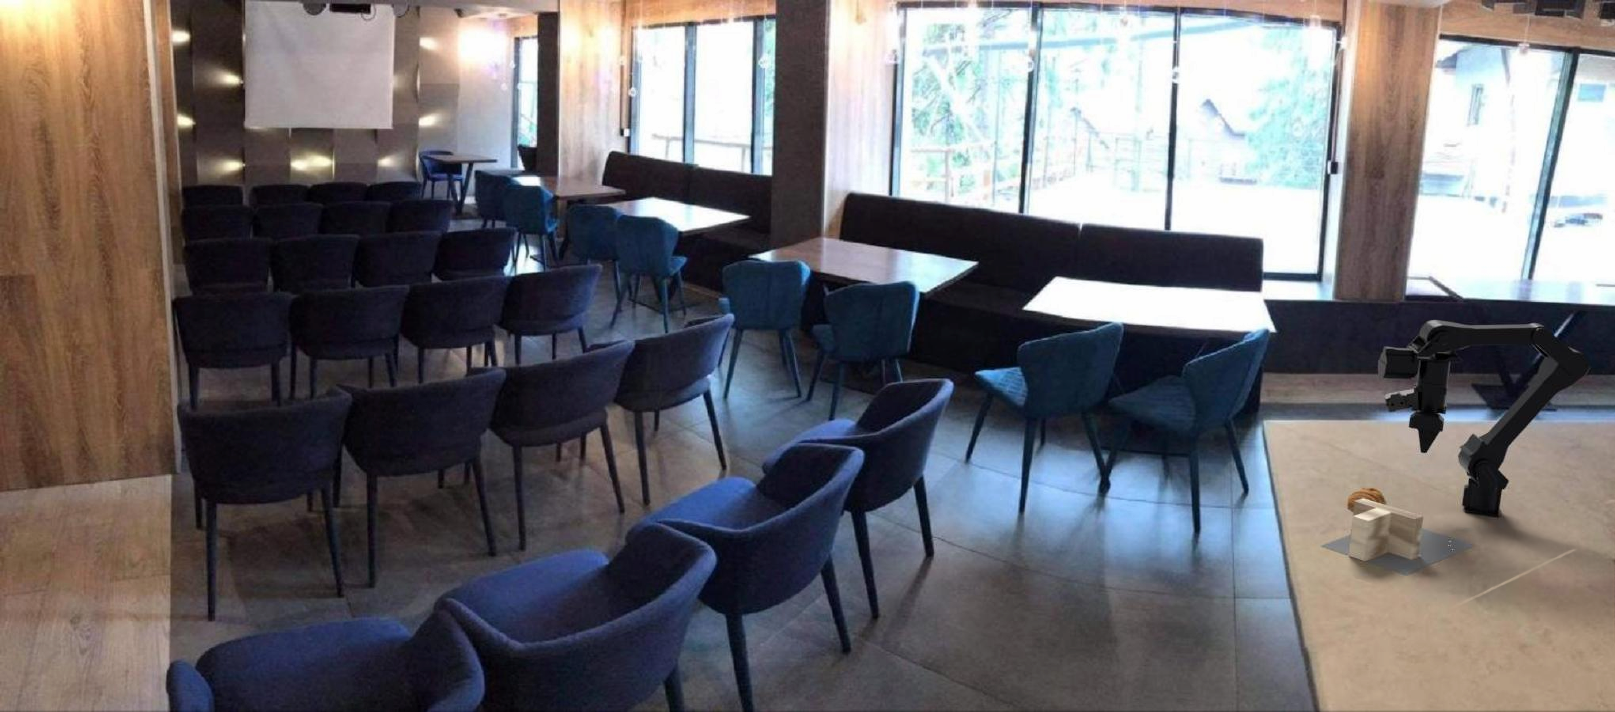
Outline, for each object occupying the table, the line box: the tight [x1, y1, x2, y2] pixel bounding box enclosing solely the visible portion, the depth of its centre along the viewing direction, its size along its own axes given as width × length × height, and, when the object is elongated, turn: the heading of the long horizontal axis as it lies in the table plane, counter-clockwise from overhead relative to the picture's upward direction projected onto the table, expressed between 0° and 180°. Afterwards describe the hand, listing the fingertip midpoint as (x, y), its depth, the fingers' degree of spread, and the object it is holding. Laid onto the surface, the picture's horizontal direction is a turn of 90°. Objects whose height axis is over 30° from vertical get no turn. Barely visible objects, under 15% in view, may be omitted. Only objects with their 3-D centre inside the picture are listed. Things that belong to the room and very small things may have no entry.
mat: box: [1320, 528, 1476, 576], centre depth 227 cm, size 26×17×1 cm, turn 125°
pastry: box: [1346, 487, 1388, 511], centre depth 248 cm, size 9×7×4 cm
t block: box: [1348, 498, 1424, 562], centre depth 223 cm, size 11×12×8 cm
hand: (1423, 452), depth 247 cm, fingers closed
